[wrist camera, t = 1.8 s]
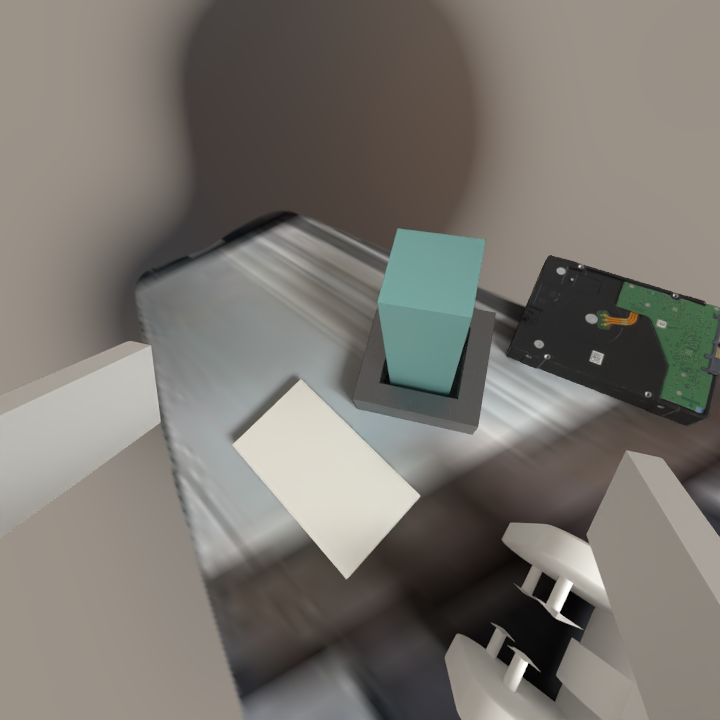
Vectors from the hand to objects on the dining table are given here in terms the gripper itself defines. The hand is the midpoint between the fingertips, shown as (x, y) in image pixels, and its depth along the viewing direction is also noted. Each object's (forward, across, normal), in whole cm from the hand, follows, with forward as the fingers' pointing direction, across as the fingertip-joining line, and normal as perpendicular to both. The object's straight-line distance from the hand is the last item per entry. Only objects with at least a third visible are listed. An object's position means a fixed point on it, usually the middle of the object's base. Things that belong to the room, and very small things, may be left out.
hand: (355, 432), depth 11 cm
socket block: (+24, +1, -8) cm, 25 cm away
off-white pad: (+16, -6, -16) cm, 23 cm away
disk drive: (+28, +16, -4) cm, 33 cm away
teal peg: (+24, +1, -8) cm, 25 cm away
